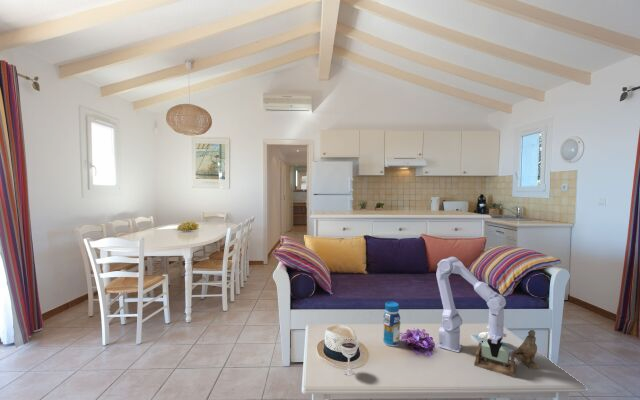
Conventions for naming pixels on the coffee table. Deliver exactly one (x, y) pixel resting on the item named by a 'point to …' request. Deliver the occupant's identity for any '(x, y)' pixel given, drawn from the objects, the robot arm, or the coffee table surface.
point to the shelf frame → (495, 363)
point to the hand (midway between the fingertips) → (495, 352)
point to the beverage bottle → (391, 324)
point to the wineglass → (348, 353)
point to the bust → (485, 335)
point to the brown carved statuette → (527, 351)
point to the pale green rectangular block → (502, 354)
